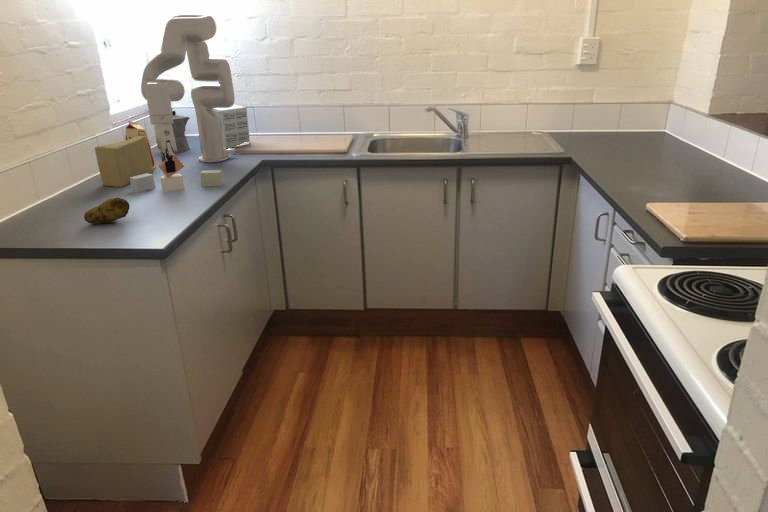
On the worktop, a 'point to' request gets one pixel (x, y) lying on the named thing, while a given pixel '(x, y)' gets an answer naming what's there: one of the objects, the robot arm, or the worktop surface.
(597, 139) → the worktop surface
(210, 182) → the sage brick
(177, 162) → the terracotta brick
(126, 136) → the milk carton
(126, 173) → the cheese
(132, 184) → the slate brick
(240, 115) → the supplement box
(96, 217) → the potato
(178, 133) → the coffeepot
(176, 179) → the cream brick
